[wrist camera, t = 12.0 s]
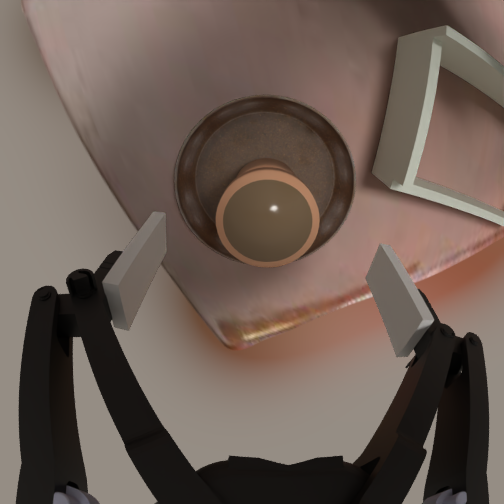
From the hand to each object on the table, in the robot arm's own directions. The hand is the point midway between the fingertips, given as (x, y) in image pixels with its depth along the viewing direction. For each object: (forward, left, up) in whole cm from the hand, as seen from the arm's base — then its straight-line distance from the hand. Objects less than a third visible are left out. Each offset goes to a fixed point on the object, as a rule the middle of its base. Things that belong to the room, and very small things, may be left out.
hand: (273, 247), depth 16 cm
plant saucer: (0, 0, -14) cm, 14 cm away
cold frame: (-11, +24, -14) cm, 29 cm away
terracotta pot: (0, 0, -11) cm, 11 cm away
